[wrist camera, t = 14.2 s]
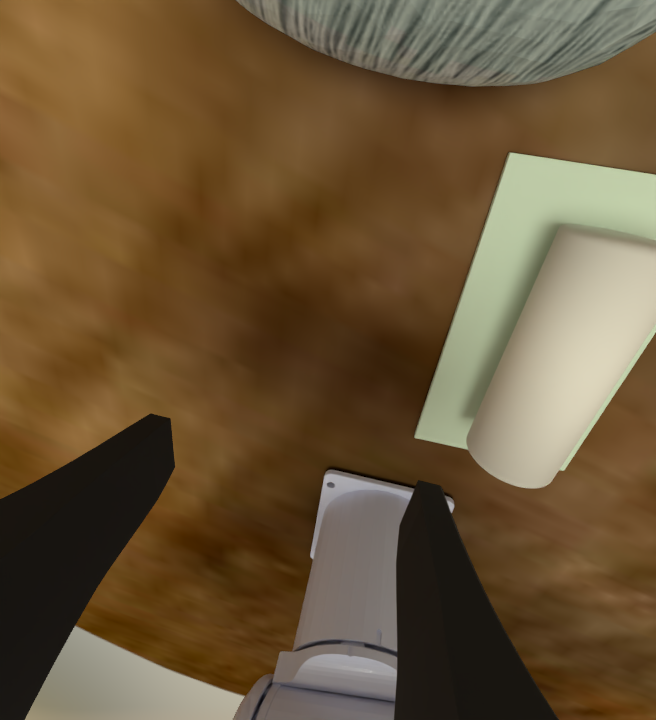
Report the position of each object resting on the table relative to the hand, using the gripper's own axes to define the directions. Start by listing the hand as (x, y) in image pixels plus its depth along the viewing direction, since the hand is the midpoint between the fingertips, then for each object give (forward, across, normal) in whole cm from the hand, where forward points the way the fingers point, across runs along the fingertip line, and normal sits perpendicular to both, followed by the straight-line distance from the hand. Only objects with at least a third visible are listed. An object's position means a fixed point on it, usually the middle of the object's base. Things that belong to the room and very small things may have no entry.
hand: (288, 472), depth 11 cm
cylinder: (+9, -9, -2) cm, 13 cm away
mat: (+9, -9, -2) cm, 13 cm away
